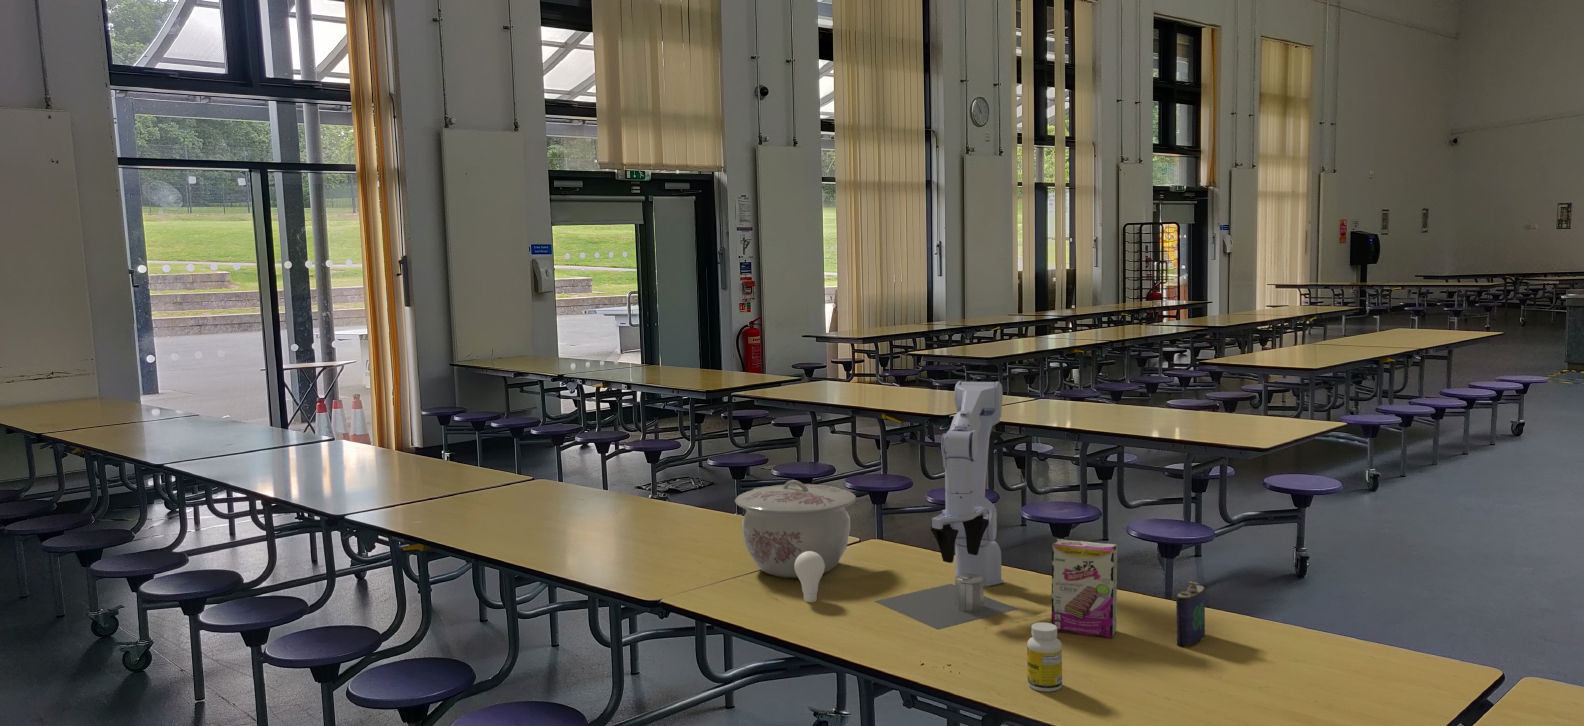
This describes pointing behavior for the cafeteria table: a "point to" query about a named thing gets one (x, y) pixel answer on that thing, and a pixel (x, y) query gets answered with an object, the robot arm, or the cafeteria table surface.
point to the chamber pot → (795, 525)
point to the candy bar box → (1084, 587)
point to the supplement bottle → (1044, 658)
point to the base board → (940, 607)
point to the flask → (1190, 615)
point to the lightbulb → (809, 573)
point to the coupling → (969, 592)
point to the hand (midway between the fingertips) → (960, 557)
